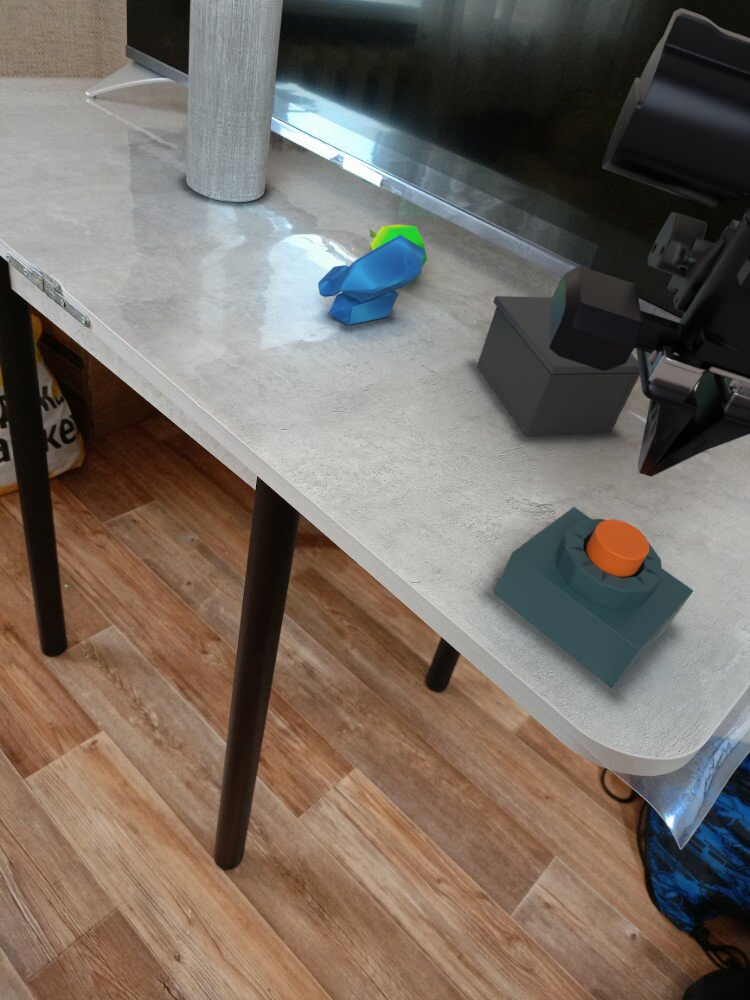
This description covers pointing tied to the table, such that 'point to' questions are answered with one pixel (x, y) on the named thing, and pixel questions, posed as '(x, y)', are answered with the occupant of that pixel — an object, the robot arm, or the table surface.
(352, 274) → the crystal
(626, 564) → the button
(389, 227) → the apple
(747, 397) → the robot arm
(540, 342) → the lid
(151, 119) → the table surface
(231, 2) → the grey fabric cylinder
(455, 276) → the table surface
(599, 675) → the control block
